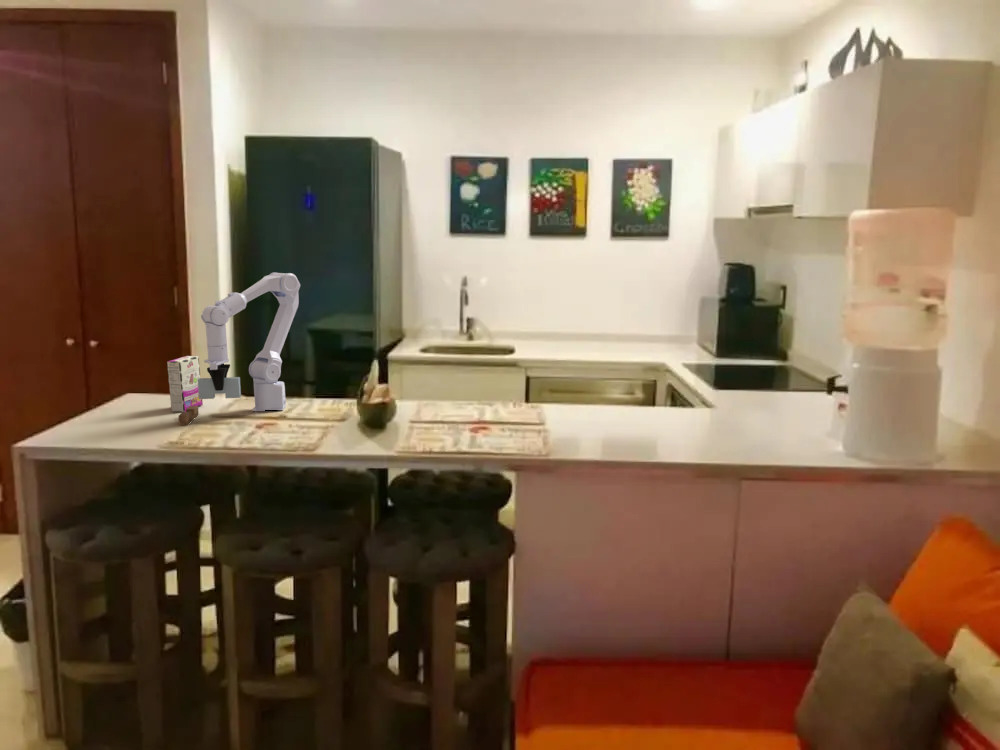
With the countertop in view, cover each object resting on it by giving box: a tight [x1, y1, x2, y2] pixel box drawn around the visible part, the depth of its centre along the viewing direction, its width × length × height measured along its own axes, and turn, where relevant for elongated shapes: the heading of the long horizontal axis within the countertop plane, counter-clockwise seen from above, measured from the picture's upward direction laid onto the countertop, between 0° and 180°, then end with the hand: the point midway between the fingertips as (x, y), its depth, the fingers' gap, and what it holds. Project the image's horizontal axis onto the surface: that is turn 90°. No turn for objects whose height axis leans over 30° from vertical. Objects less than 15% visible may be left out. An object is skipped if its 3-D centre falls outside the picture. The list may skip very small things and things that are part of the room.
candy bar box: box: [166, 355, 204, 413], centre depth 276 cm, size 11×5×16 cm, turn 168°
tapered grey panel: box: [198, 376, 242, 400], centre depth 263 cm, size 12×2×6 cm, turn 96°
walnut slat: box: [178, 406, 200, 427], centre depth 260 cm, size 2×14×3 cm, turn 6°
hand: (220, 389), depth 263 cm, fingers closed on tapered grey panel, 2 cm apart
